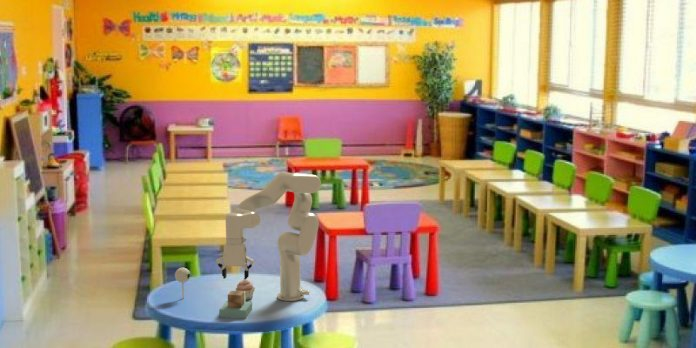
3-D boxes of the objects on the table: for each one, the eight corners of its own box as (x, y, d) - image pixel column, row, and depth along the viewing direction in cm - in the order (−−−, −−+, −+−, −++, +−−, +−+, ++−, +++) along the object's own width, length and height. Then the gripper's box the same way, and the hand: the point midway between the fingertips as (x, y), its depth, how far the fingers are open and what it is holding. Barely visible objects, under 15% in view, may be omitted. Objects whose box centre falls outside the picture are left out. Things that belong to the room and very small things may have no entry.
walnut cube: (244, 303, 399) (244, 291, 398) (241, 308, 394) (240, 295, 393) (231, 303, 400) (231, 290, 399) (227, 307, 394) (227, 294, 393)
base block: (252, 310, 403) (252, 302, 402) (246, 319, 391) (245, 310, 390) (226, 309, 404) (226, 301, 404) (219, 318, 393) (219, 309, 392)
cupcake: (238, 294, 425) (238, 274, 423) (257, 295, 423) (257, 275, 421) (232, 300, 416) (232, 280, 414) (252, 301, 414) (251, 281, 412)
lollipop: (186, 301, 414) (185, 270, 412) (172, 299, 417) (171, 269, 414) (193, 297, 421) (192, 266, 418) (180, 295, 423) (179, 265, 421)
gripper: (255, 239, 395) (256, 276, 398) (217, 238, 397) (218, 275, 400) (251, 243, 387) (252, 281, 390) (213, 242, 389) (214, 279, 392)
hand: (235, 278), depth 395 cm, fingers open, 9 cm apart
